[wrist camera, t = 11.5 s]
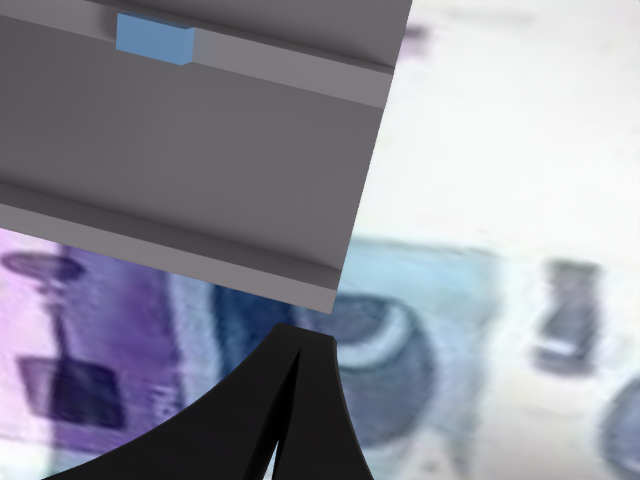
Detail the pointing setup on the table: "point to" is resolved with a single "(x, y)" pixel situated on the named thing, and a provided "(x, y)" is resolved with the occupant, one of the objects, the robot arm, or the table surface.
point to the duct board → (197, 132)
